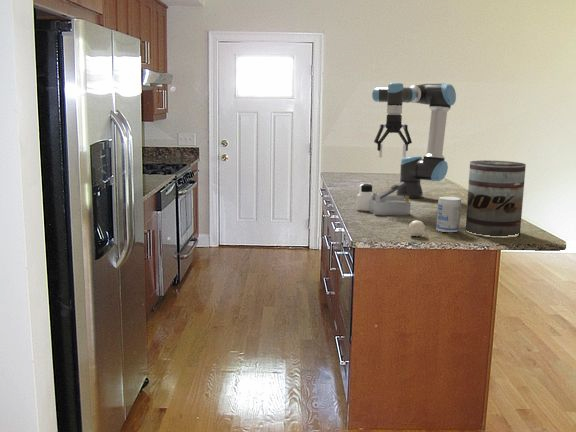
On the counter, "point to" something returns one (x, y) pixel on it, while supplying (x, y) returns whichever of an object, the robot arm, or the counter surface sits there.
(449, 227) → the supplement tub
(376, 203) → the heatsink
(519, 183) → the barrel
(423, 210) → the counter surface
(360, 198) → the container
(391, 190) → the lid
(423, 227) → the baseball
